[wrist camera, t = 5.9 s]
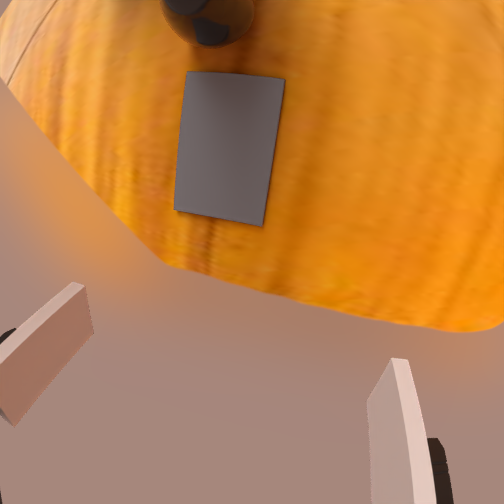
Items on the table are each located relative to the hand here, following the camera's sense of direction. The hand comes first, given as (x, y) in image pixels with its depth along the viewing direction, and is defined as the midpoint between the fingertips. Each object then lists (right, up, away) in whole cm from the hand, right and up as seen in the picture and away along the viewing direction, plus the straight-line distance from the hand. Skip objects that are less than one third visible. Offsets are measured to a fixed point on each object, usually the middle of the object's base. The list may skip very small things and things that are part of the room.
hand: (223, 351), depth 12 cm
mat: (-2, +18, +28) cm, 33 cm away
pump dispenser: (-3, +35, +21) cm, 41 cm away
